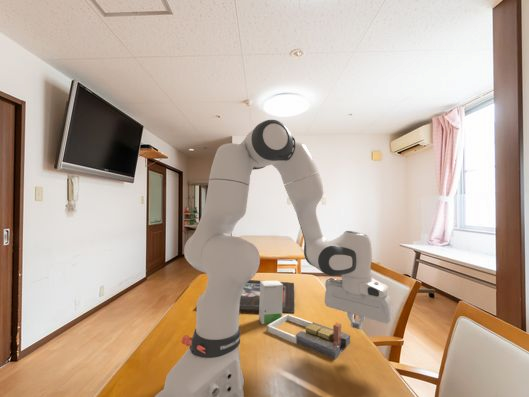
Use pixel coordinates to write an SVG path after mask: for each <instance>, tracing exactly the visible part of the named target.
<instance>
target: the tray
mask: <svg viewBox="0 0 529 397" xmlns="http://www.w3.org/2000/svg"><path fill="white" fill-rule="evenodd" d="M287 321H289V322H291V323H295V324H298V325H300V326H302V327H305V328H306V327H307V326H308V325H310V324H311V323H313V322H312V321H309V320H306V319H304V318H300V317H298V316H295V315H292V314H290V313H285V314H284V315H282V317H281V318H279V319H277V320H276V321H274V322H272V323H268V324H266V332H268V333H269V334H272V335H274V336H277V337H279V338H282V339H283V340H286V341H288V342H291V343H294V344H298V343H297V337H296V334H295V335H294V334H292V333H291V332H290V333H289V332H287V331H285V330H283V329H280V328H277V327H279V326H280V325H283V324H284V323H286V322H287Z"/></svg>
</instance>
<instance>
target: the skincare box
mask: <svg viewBox="0 0 529 397" xmlns="http://www.w3.org/2000/svg"><path fill="white" fill-rule="evenodd" d="M259 281H260V303H259V313H258V321H259V322H260V323H261V325H265V324H266V325H267V324H270V323H272V322H274V321H276V320H277V319H279V318H281V317H283V313H282V301H283V284H282V283H280V282H281V281H279V280H259Z"/></svg>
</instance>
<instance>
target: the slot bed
mask: <svg viewBox="0 0 529 397" xmlns="http://www.w3.org/2000/svg"><path fill="white" fill-rule="evenodd" d="M312 324H315V325H318V326H321V327H322V328H326V329H329V330H332V331H333V328H330V327H327V326H325V325H322V324H319V323H317V322H314V321H313V322H312ZM295 336H296V337H297V343H296V344H298V345H301V346H302V347H303V346H304V347H306V348H307V349H310V350H312V351H315V352H316V353H319V354H321V355H324V356H327V357H328V358H331V359H334V360H336V359H337V358H338V357H339V356H340V355H341V353H343V351H344V350H345V349H346V348H347V347H348V346H349V345H350V343H351V335H350V334H348V333H346V332H342V331H341V339H342V345H341V347H340V346H339V345H336V344H334V343H331V342H329V341H326V340H323V339H321V338H318V337H316V336H313V335H311V334H308V333H306V331H302V330H300V331H299V332H298V333H296V334H295Z"/></svg>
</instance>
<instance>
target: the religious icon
mask: <svg viewBox="0 0 529 397" xmlns="http://www.w3.org/2000/svg"><path fill="white" fill-rule="evenodd" d="M260 281H261V280H258V279H257V280H255V279H253V280H252V279H251V280H249V281H248V282H247V283H246V284H245V286H244V288H243V291H242V294H241V298H240V306H239V314H240V313H241V314H242V313H244V314H245V313H247V314H259V303H260ZM279 282H280V283H282V284H283V301H282V314H291V315H292V314H295V282H285V281H279ZM195 308H196V310H197V306H196V307H195Z"/></svg>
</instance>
